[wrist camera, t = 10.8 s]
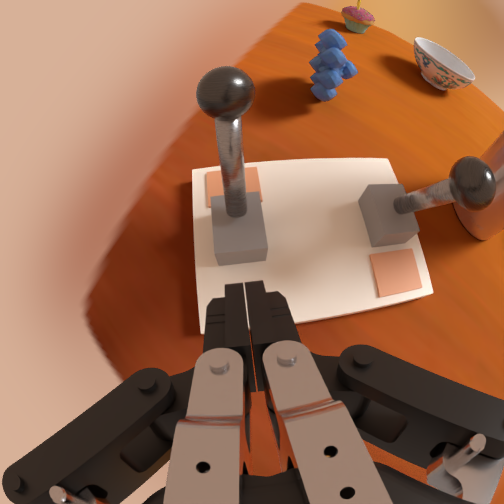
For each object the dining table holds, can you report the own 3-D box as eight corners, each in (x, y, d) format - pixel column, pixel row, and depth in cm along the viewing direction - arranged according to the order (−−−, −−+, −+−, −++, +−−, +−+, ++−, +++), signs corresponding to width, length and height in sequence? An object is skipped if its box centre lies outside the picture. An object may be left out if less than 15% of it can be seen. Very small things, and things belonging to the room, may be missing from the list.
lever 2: (417, 223, 21) (509, 208, 10) (388, 226, 21) (481, 209, 10) (411, 186, 21) (497, 153, 10) (381, 186, 21) (468, 146, 10)
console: (422, 297, 24) (451, 285, 19) (204, 334, 23) (193, 331, 18) (381, 168, 29) (397, 142, 25) (195, 180, 28) (186, 150, 24)
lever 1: (262, 223, 19) (257, 68, 11) (214, 228, 19) (190, 74, 11) (256, 195, 22) (250, 61, 14) (214, 200, 21) (195, 66, 14)
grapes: (352, 128, 32) (378, 56, 20) (302, 119, 32) (317, 41, 21) (344, 83, 36) (360, 23, 24) (303, 75, 36) (313, 12, 25)
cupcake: (364, 39, 44) (374, 0, 33) (332, 26, 46) (340, -13, 35) (374, 33, 47) (384, -2, 35) (345, 21, 48) (353, -13, 37)
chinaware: (397, 71, 39) (409, 43, 32) (411, 56, 43) (420, 33, 36) (459, 113, 36) (475, 87, 29) (462, 90, 40) (474, 69, 33)
